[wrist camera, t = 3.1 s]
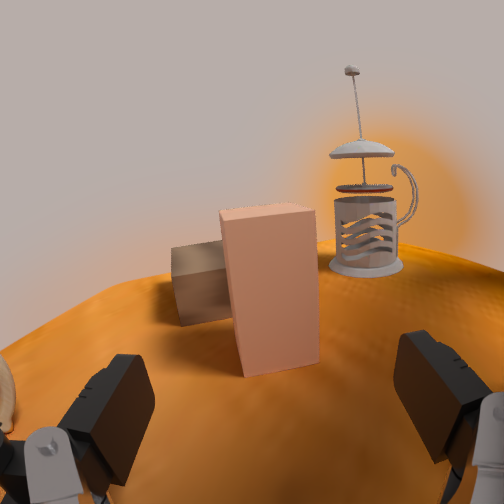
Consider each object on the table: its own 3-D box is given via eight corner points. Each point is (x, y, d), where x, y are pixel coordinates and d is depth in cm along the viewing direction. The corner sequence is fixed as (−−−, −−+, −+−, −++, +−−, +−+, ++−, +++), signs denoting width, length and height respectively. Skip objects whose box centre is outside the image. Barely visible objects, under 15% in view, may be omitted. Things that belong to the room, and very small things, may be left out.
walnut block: (265, 272, 39) (262, 234, 38) (299, 306, 29) (296, 255, 27) (178, 287, 37) (171, 248, 35) (182, 329, 26) (171, 277, 25)
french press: (327, 254, 43) (312, 77, 36) (405, 251, 40) (394, 76, 34) (329, 279, 34) (309, 53, 27) (426, 275, 31) (412, 54, 24)
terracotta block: (297, 329, 24) (290, 202, 21) (319, 362, 19) (315, 210, 17) (235, 339, 23) (218, 210, 21) (244, 377, 19) (223, 220, 16)
